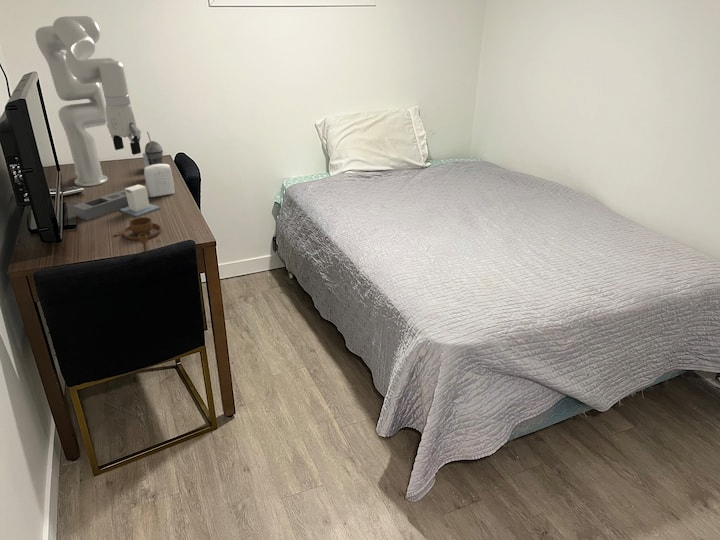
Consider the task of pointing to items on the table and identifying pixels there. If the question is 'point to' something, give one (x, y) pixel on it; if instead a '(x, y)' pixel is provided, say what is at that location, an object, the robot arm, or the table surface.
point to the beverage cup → (154, 152)
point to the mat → (139, 213)
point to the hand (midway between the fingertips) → (128, 151)
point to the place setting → (141, 230)
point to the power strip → (101, 205)
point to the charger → (137, 198)
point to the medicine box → (145, 160)
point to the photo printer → (159, 180)
